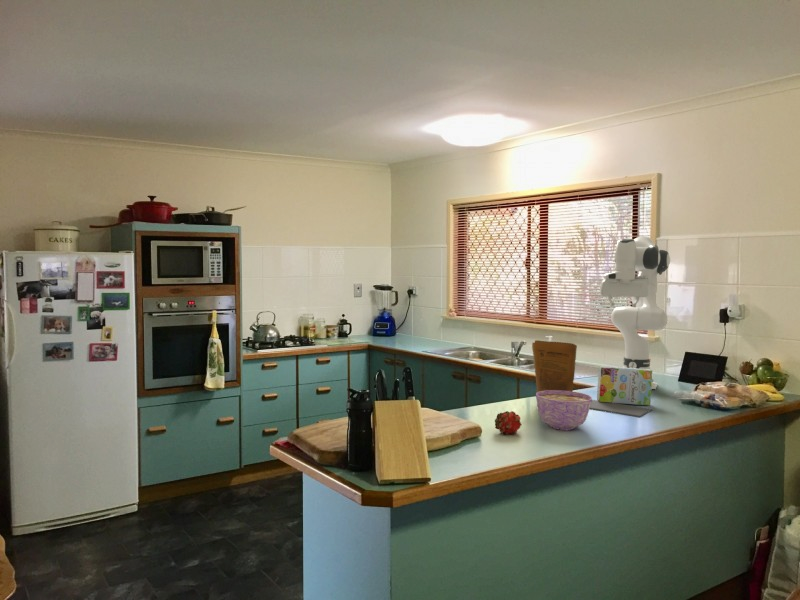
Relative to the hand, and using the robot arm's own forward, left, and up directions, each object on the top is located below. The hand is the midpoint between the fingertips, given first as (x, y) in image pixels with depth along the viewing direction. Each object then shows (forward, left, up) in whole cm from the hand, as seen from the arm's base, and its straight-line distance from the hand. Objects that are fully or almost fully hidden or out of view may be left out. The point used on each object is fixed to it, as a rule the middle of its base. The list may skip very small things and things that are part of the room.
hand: (623, 306), depth 294 cm
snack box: (+12, +6, -40) cm, 43 cm away
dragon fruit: (+89, -9, -41) cm, 98 cm away
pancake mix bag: (+44, -12, -41) cm, 61 cm away
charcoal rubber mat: (+24, +6, -41) cm, 47 cm away
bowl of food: (+68, +2, -41) cm, 79 cm away
